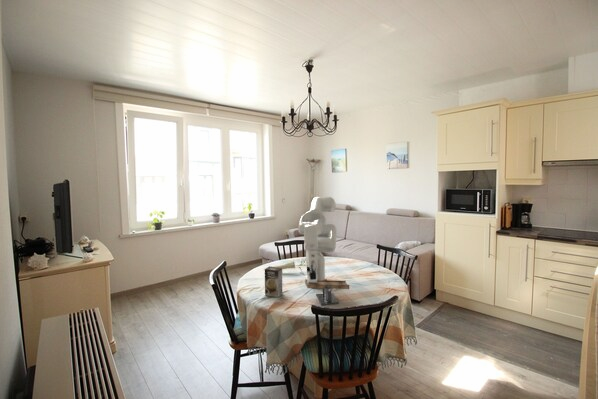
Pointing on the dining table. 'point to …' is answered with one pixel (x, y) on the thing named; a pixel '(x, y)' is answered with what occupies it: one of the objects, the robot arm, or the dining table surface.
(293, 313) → the dining table surface
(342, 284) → the beam
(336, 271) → the dining table surface
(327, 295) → the pivot stand
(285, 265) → the flower vase
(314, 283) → the rider
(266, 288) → the coffee box
